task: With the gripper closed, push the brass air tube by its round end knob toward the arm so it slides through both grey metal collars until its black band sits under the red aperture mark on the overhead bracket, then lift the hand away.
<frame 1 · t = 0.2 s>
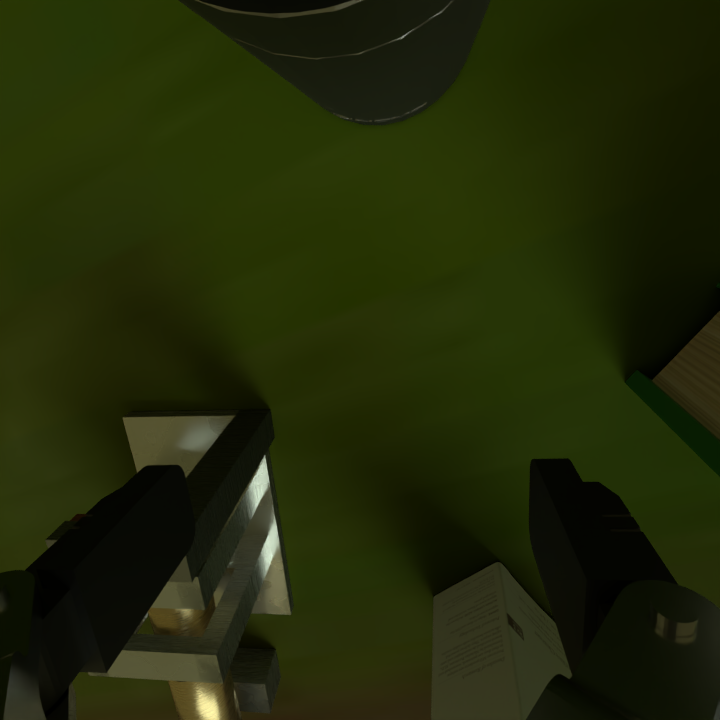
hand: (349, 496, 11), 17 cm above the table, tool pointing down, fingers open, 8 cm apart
skincare box: (495, 610, 34), on the table
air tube: (207, 704, 32), point 6 cm above the table, slide at 0.0 cm
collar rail: (216, 514, 34), on the table
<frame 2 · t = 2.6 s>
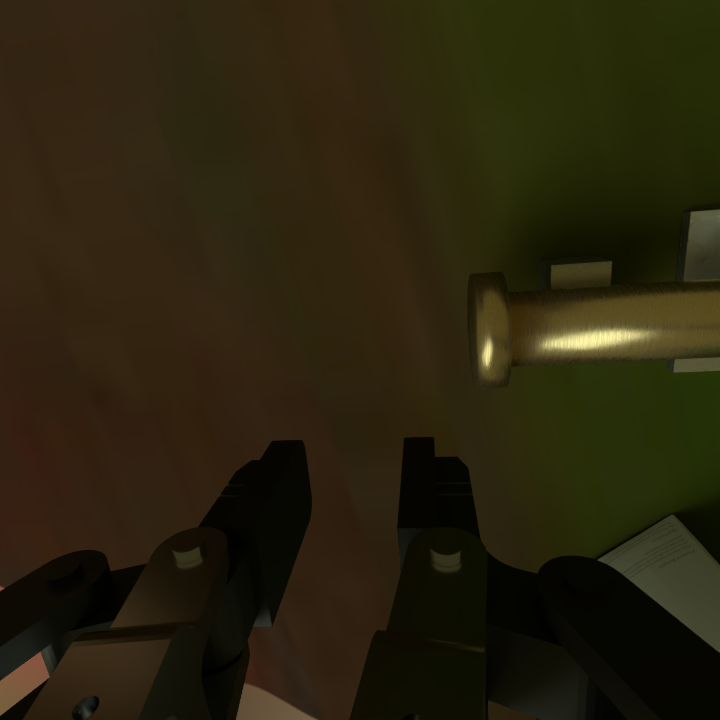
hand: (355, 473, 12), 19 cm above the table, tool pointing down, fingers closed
skincare box: (644, 564, 34), on the table
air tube: (686, 319, 22), point 6 cm above the table, slide at 0.0 cm
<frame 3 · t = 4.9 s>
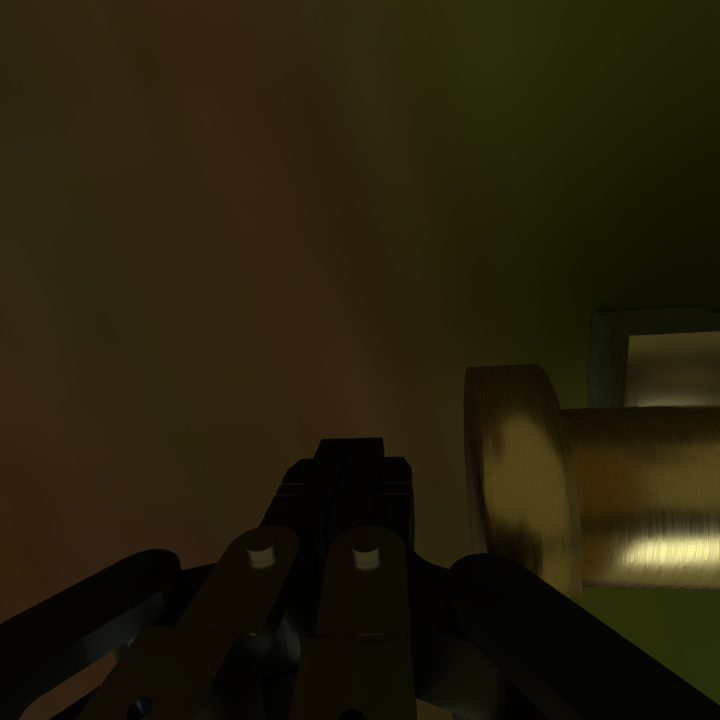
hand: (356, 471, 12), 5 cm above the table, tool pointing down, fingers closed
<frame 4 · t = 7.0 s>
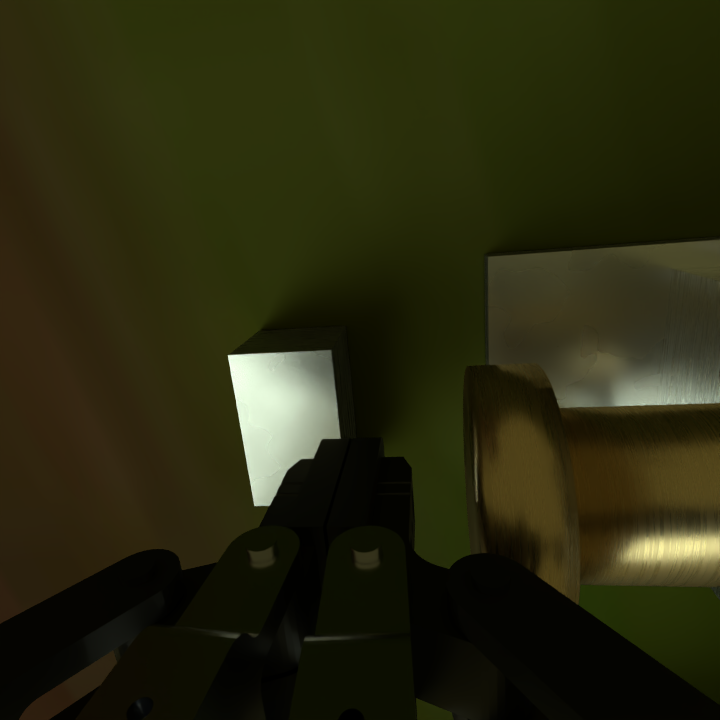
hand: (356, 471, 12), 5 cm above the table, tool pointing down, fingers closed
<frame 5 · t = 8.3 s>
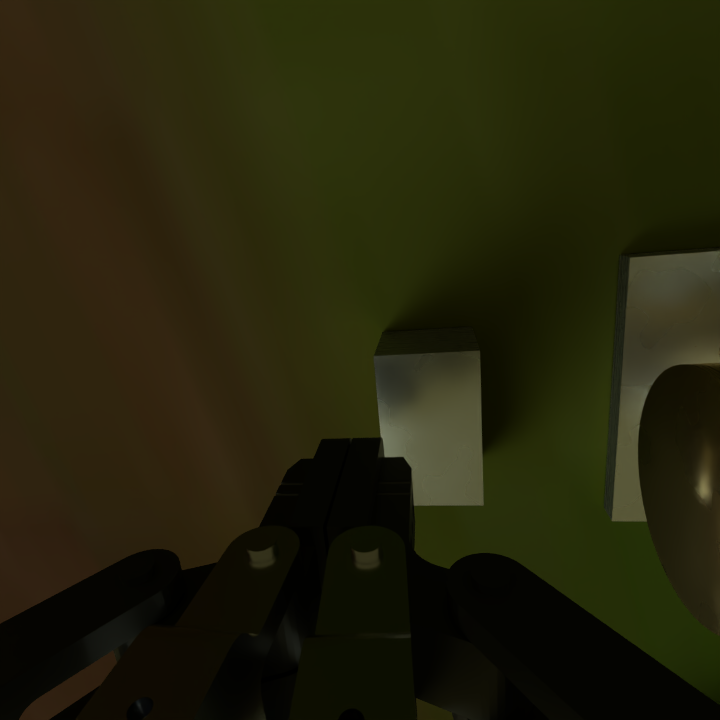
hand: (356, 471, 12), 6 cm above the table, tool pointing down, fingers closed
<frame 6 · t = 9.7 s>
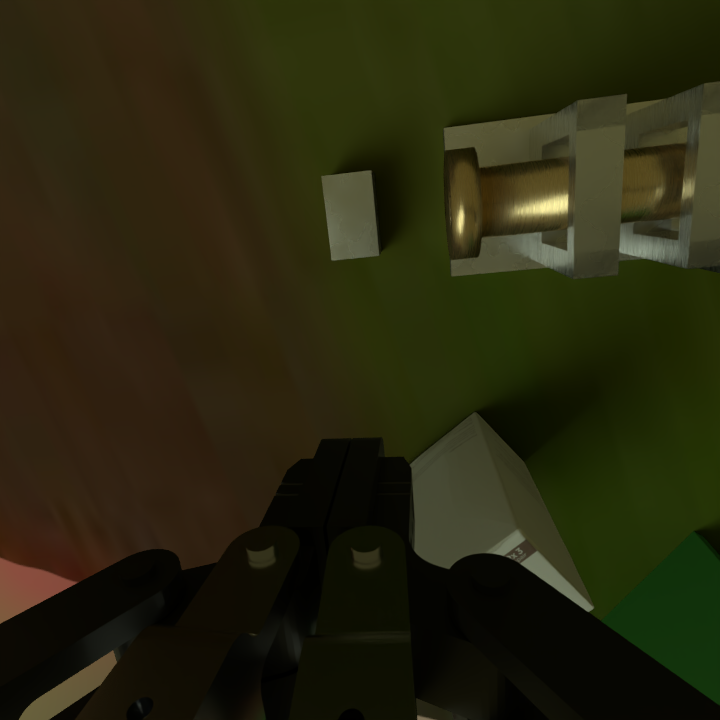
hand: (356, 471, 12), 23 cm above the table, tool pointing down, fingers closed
skincare box: (460, 462, 37), on the table
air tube: (641, 185, 25), point 6 cm above the table, slide at 11.5 cm
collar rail: (575, 190, 31), on the table
hardback book: (652, 624, 40), on the table
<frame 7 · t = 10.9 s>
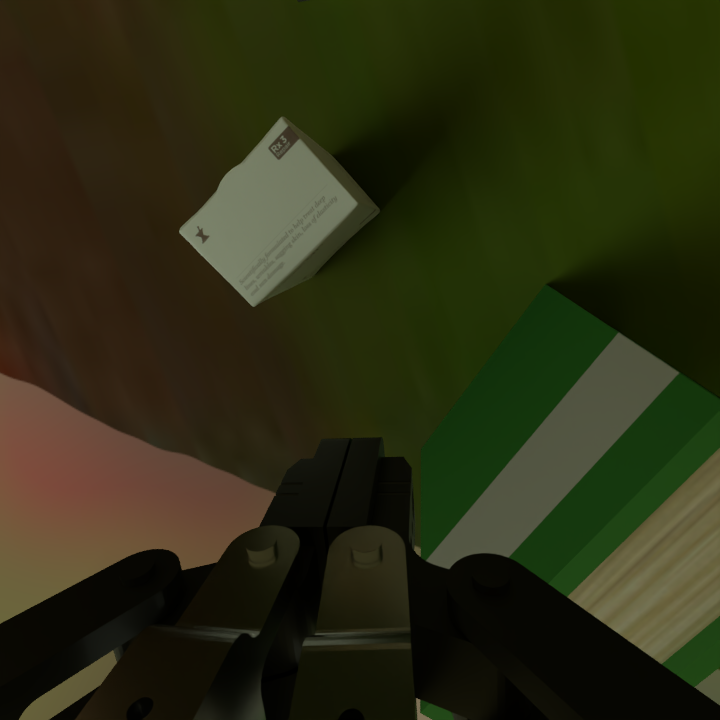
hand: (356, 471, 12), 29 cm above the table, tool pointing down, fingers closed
skincare box: (322, 215, 39), on the table
hardback book: (515, 394, 41), on the table
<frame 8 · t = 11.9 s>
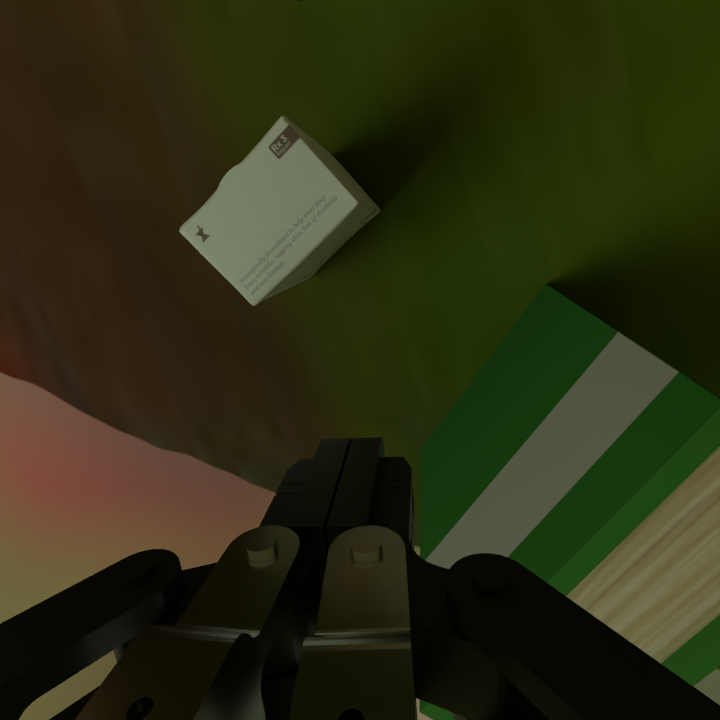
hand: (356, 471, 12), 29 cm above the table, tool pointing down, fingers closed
skincare box: (322, 214, 39), on the table
hardback book: (514, 394, 41), on the table
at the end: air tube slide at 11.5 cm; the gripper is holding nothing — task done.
